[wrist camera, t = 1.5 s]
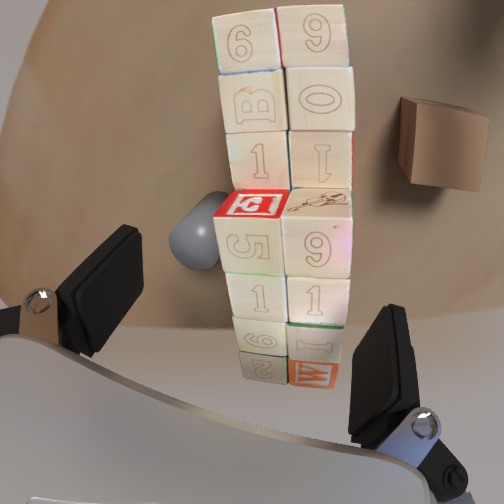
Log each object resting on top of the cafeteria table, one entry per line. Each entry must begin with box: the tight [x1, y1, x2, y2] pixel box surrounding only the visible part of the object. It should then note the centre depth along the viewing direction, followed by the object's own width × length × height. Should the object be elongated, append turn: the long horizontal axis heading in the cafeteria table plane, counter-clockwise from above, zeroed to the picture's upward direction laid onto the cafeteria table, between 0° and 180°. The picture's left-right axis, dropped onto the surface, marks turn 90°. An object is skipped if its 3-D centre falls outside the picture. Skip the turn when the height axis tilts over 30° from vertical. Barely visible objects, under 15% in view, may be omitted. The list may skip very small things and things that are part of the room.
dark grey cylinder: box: [169, 191, 229, 270], centre depth 25 cm, size 4×4×6 cm
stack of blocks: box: [211, 5, 355, 389], centre depth 18 cm, size 21×6×12 cm, turn 6°
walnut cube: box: [398, 97, 489, 193], centre depth 17 cm, size 5×5×5 cm
